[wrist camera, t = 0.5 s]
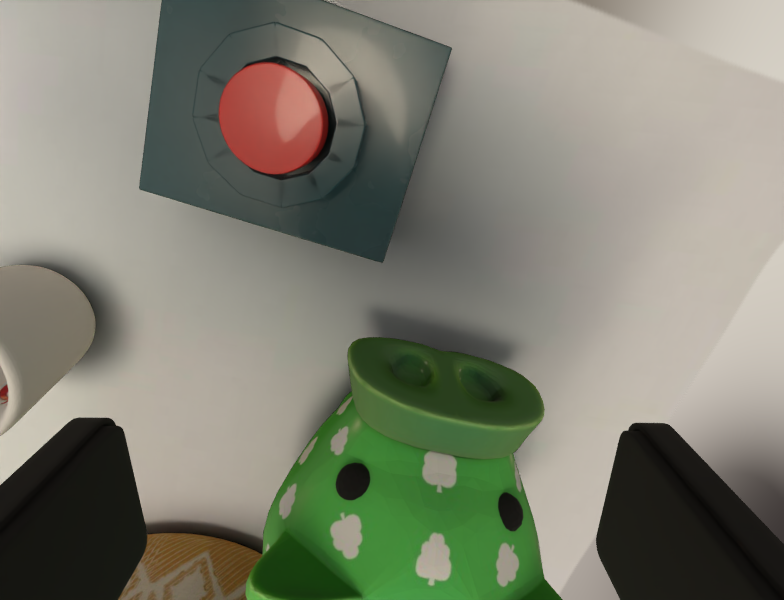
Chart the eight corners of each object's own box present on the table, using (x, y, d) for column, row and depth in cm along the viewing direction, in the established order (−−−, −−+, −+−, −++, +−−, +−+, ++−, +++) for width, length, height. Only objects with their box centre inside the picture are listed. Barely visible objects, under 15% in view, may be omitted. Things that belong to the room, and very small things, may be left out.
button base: (177, 180, 25) (116, 194, 20) (207, -24, 22) (144, -77, 16) (383, 243, 27) (382, 274, 21) (441, 61, 23) (458, 39, 18)
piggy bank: (541, 349, 29) (685, 554, 15) (458, 553, 35) (504, 834, 21) (323, 298, 28) (256, 471, 14) (275, 519, 34) (195, 795, 20)
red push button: (224, 154, 19) (209, 156, 18) (242, 53, 18) (228, 46, 16) (315, 182, 20) (308, 187, 18) (339, 87, 19) (335, 83, 17)
